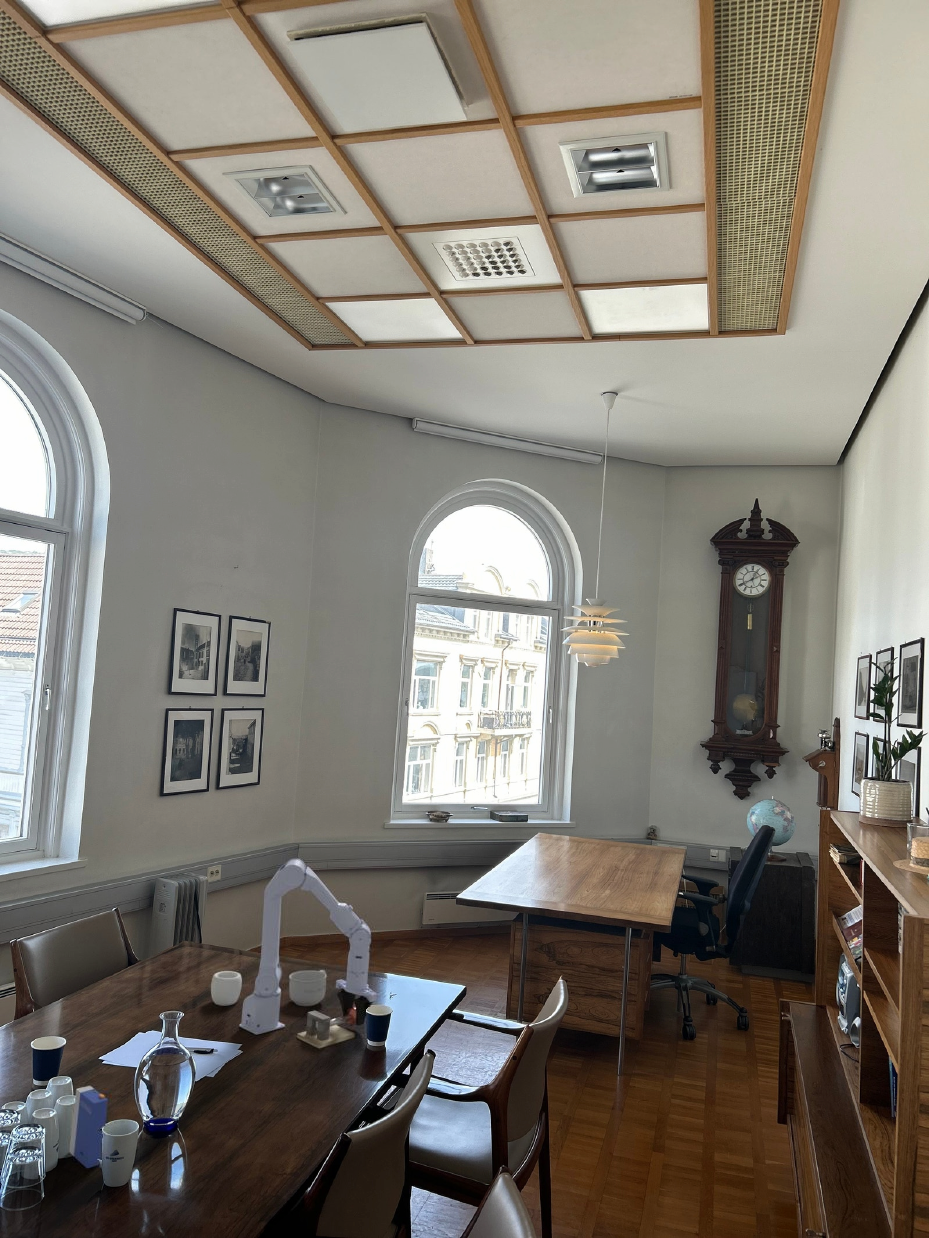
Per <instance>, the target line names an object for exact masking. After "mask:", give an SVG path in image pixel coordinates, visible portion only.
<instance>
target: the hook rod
mask: <svg viewBox="0 0 929 1238" xmlns="http://www.w3.org/2000/svg"><path fill="white" fill-rule="evenodd" d="M344 1023H347V1024H348V1026H350V1027H355V1026H357V1025H356V1007H355V1006H353V1007H352V1008H349V1009H348V1010H347V1011H346V1015H345V1016H343V1015H342V1016H339V1017H336V1018H332V1019H330V1027H331V1026H334V1025H337V1026H338V1025H341V1024H344ZM317 1029H318V1021H316V1030H317Z"/></svg>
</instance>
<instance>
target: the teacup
mask: <svg viewBox="0 0 929 1238" xmlns="http://www.w3.org/2000/svg"><path fill="white" fill-rule="evenodd" d="M288 979H289V984H288V985H289V990H288V991H289V997H290V999H291V1001H293V1002H294V1003H295V1005H296V1006H301V1007H311V1006H315V1005H318V1004H319V1003H320V1002H321V1001H322V1000H323V999H324V997H325V995H326V989H327V972H326V970H324V969H320V970H319V971H318V970H299V971H296V972H292V973H290V974H289V976H288Z"/></svg>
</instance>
